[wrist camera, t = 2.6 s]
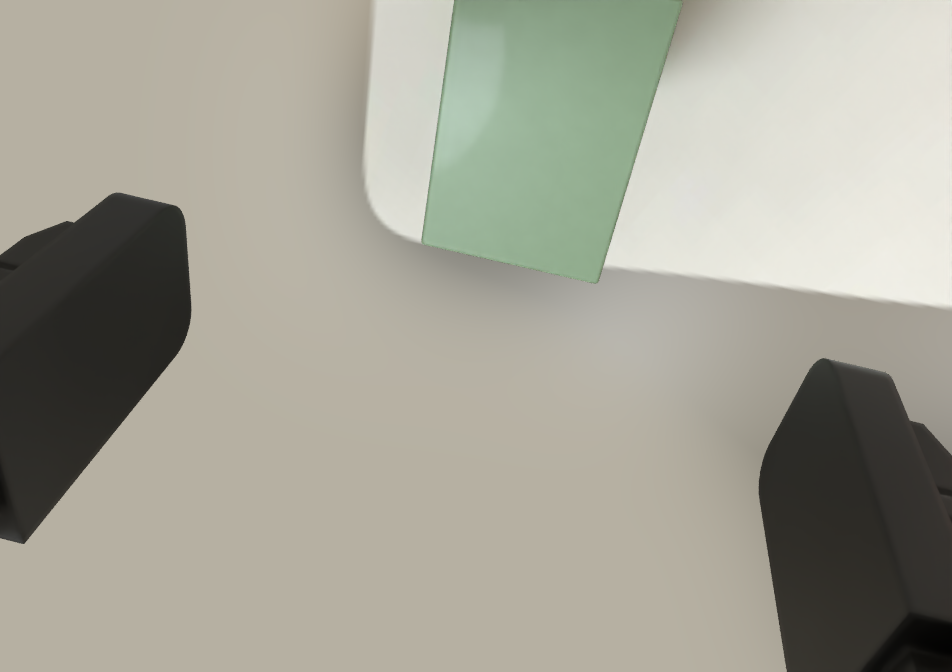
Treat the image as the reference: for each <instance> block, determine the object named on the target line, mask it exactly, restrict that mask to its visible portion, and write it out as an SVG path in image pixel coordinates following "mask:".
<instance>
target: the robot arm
mask: <svg viewBox="0 0 952 672" xmlns="http://www.w3.org/2000/svg"><path fill="white" fill-rule="evenodd" d="M187 253H188V252H187V238H186V225H185V219H184V216H183V214H182V211H181V210H180V209H179V208H178V207H177V206H174V205H170V204H166V203H162V202H157V201H153V200H149V199H144V198H140V197H135V196H131V195H127V194H123V193H114V194H111V195H109V196H108V197H107V198H105V199H104V200H103V201H102V202H100V203H99V204H98V205H96V206H95V207H94V208H93V209H91V210H90V211H89V212H88V213H86V214H85V215H84V216H82V217H81V218H80V219H79V220H77V221H76V222H75V223H73V222H69V221H66V222H63V223H60V224H58V225H55V226H53V227H50V228H47V229H45V230H42V231H39V232H37V233H34V234H31V235H29V236H26V237H24V238H23V239H21V240H20V241H19V242H17V243H16V244H15V245H13V246H12V247H11V248H9V249H8V250H7V251H5V252H4V253H3V254H1V255H0V538H2V539H6V540H10V541H14V542H17V543H21V544H24V543H25V542H26V541H27V540H28V539H29V537H30V536H31V535H32V534H33V532H34V531H35V530H36V529H37V527H38V526H39V525H40V524H41V522H42V521H43V520H44V518H45V517H46V516H47V515H48V514H49V513H50V511H51V510H52V509H53V508H54V506H55V505H56V504H57V503H58V501H59V500H60V499H61V498H62V496H63V495H64V494H65V493H66V491H67V490H68V489H69V488H70V486H71V485H72V484H73V483H74V482H75V480H76V479H77V478H78V477H79V475H80V474H81V473H82V471H83V470H84V469H85V468H86V467H87V465H88V464H89V463H90V461H91V460H92V459H93V458H94V457H95V455H96V454H97V453H98V452H99V451H100V449H101V448H102V447H103V445H104V444H105V443H106V442H107V441H108V439H109V438H110V437H111V435H112V434H113V433H114V432H115V431H116V429H117V428H118V427H119V426H120V424H121V423H122V422H123V421H124V420H125V418H126V417H127V416H128V415H129V413H130V412H131V411H132V410H133V408H134V407H135V406H136V405H137V403H138V402H139V401H140V400H141V398H142V397H143V396H144V395H145V393H146V392H147V391H148V390H149V389H150V387H151V386H152V385H153V384H154V382H155V381H156V380H157V379H158V377H159V376H160V375H161V373H162V372H163V371H164V370H165V369H166V367H167V366H168V365H169V364H170V362H171V361H172V360H173V359H174V358H175V356H176V355H177V354H178V352H179V351H180V349H181V347H182V345H183V343H184V341H185V338H186V336H187V332H188V329H189V325H190V319H191V295H190V281H189V267H188V254H187ZM759 498H760V505H761V512H762V518H763V524H764V530H765V537H766V543H767V549H768V556H769V562H770V568H771V574H772V581H773V587H774V594H775V600H776V606H777V613H778V619H779V625H780V631H781V638H782V644H783V650H784V657H785V663H786V669H787V672H952V455H951V454H950V453H949V452H948V451H947V450H946V449H945V448H944V446H942V444H941V443H940V442H939V441H938V440H937V439H936V438H935V437H934V435H933V434H932V433H931V432H930V431H929V430H928V429H927V428H926V427H925V425H924V424H921V423H917V422H913V421H910V420H909V418H908V416H907V413H906V411H905V408H904V406H903V403H902V401H901V398H900V396H899V394H898V391H897V389H896V386H895V384H894V382H893V380H892V378H891V376H890V375H889V374H887V373H885V372H881V371H877V370H873V369H869V368H864V367H860V366H856V365H851V364H847V363H843V362H838V361H834V360H830V359H824V358H823V359H820V360H819V361H817V362H816V363H815V364H814V365H813V366H812V368H811V369H810V370H809V372H808V374H807V375H806V377H805V379H804V381H803V383H802V385H801V386H800V388H799V390H798V392H797V394H796V396H795V398H794V400H793V401H792V403H791V405H790V407H789V409H788V411H787V412H786V414H785V416H784V418H783V420H782V422H781V424H780V426H779V427H778V429H777V431H776V433H775V435H774V437H773V438H772V440H771V442H770V444H769V446H768V448H767V450H766V453H765V456H764V459H763V462H762V467H761V471H760V478H759Z"/></svg>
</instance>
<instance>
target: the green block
mask: <svg viewBox="0 0 952 672" xmlns="http://www.w3.org/2000/svg"><path fill="white" fill-rule="evenodd" d="M682 4H683V1H682V0H454V6H453V14H452V21H451V28H450V36H449V43H448V50H447V57H446V65H445V72H444V79H443V87H442V94H441V101H440V109H439V116H438V123H437V131H436V138H435V145H434V153H433V160H432V167H431V175H430V182H429V189H428V197H427V204H426V211H425V219H424V226H423V233H422V244H424V245H428V246H432V247H437V248H441V249H445V250H450V251H454V252H459V253H463V254H467V255H472V256H476V257H480V258H485V259H490V260H494V261H498V262H502V263H507V264H511V265H516V266H521V267H524V268H529V269H533V270H538V271H543V272H546V273H551V274H555V275H559V276H564V277H568V278H573V279H577V280H581V281H586V282H590V283H597V282H598V281H599V278H600V275H601V272H602V268H603V265H604V262H605V258H606V255H607V252H608V249H609V245H610V242H611V239H612V235H613V232H614V229H615V225H616V222H617V219H618V216H619V212H620V209H621V206H622V202H623V199H624V196H625V192H626V189H627V186H628V182H629V179H630V176H631V173H632V169H633V166H634V163H635V159H636V156H637V153H638V149H639V146H640V143H641V140H642V136H643V133H644V130H645V126H646V123H647V120H648V116H649V113H650V110H651V107H652V103H653V100H654V97H655V93H656V90H657V87H658V83H659V80H660V77H661V73H662V70H663V67H664V64H665V60H666V57H667V54H668V50H669V47H670V44H671V40H672V37H673V34H674V31H675V27H676V24H677V21H678V17H679V14H680V11H681V7H682Z"/></svg>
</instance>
